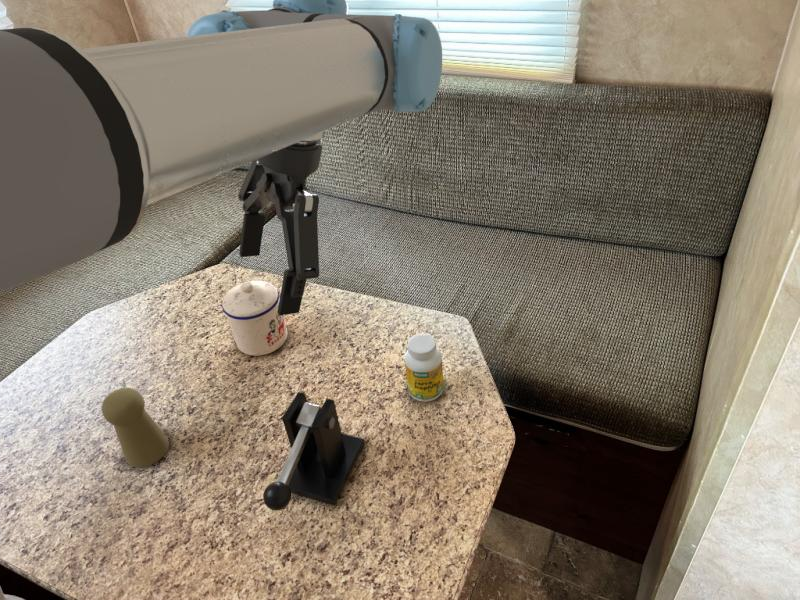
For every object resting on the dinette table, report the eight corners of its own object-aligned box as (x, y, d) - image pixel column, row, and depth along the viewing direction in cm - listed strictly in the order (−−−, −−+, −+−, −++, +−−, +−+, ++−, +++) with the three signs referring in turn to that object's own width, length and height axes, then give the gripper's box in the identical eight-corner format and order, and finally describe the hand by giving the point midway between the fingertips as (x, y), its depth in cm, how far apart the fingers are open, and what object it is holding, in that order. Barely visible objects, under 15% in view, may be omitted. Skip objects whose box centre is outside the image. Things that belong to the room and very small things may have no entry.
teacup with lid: (280, 358, 98) (265, 303, 91) (227, 357, 100) (208, 302, 92) (299, 310, 107) (286, 257, 100) (250, 309, 109) (234, 256, 101)
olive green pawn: (151, 471, 83) (122, 419, 76) (116, 462, 85) (84, 410, 78) (177, 437, 87) (151, 385, 80) (143, 428, 89) (115, 376, 82)
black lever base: (334, 506, 77) (319, 448, 69) (279, 490, 79) (259, 432, 72) (365, 444, 84) (354, 386, 76) (313, 431, 86) (297, 373, 79)
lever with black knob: (288, 517, 70) (279, 508, 67) (264, 510, 71) (254, 501, 68) (329, 416, 77) (323, 405, 74) (307, 411, 78) (299, 399, 75)
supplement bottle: (438, 373, 93) (435, 326, 87) (448, 398, 89) (445, 351, 83) (404, 380, 92) (399, 334, 86) (412, 406, 88) (407, 360, 82)
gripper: (372, 181, 64) (334, 335, 76) (279, 93, 80) (259, 232, 91) (308, 183, 60) (278, 345, 72) (223, 90, 76) (209, 235, 87)
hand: (267, 282), depth 82 cm, fingers open, 13 cm apart
